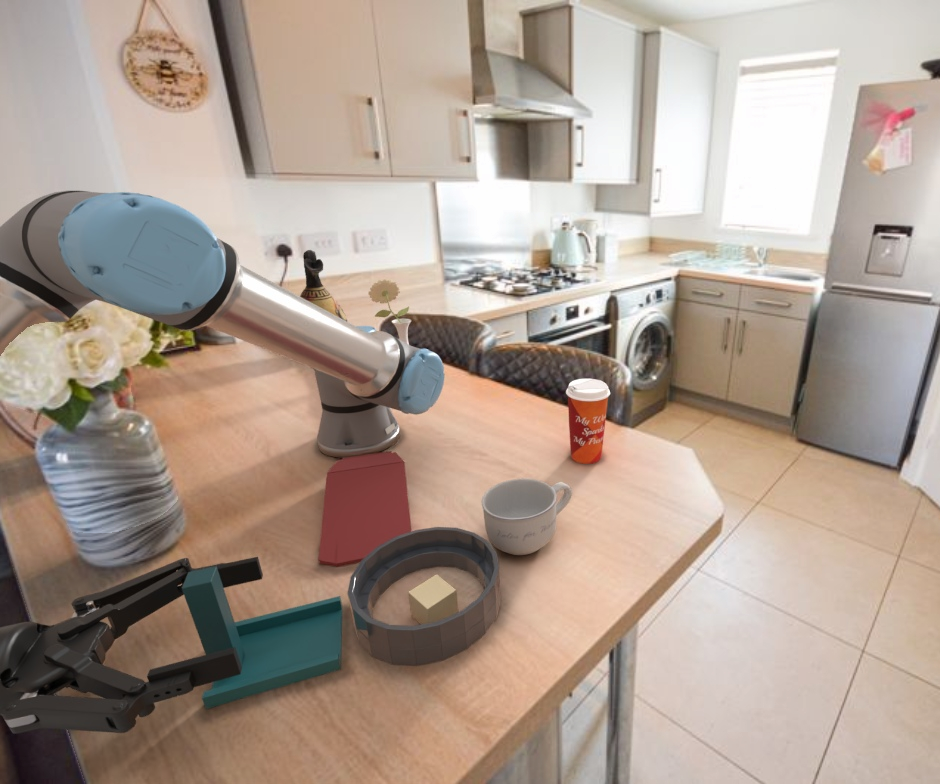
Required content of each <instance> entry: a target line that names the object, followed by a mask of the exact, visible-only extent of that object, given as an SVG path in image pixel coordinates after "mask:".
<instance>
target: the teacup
mask: <svg viewBox="0 0 940 784" xmlns="http://www.w3.org/2000/svg"><path fill="white" fill-rule="evenodd" d="M561 491H563V494H562V497H560V500H559V501H558V502H557V500H558V493H559V492H561ZM572 493H573V492H572V489H571V487H570V485H569V484H567V483H566V482H563V481H558V482H556V483H555V484H553V485H550V484H549V483H547V482H545V481H542V480H539V479H535V478H515V479H514V478H513V479H509V480H505V481H502V482H501V481H500V482H499V483H497V484H494V485H493V486H491V487H490V488H489V489H487V490H486V491H485V492H484V494H483V496H482V498H481V507H482V511H483V520H484V527H485V532H486V533H485V534H486V536H487V539H488V540H489V543H490V544H492V546H493V547H495V548H496V549H497V550H499V551H501V552H504V553H507V554H509V555H514V556H526V555H529V554H533V553H535V552H538V551H539V550H540V549H542V548H543V547H545V546H546V545H547V544H548V543H550V541H551V540H552V539H553V537H554V535H555V534H556V529H557V522H558V521H557V520H558V519H557V516H558V515H559V514H560V513H561V512H562V511H563V510H564V509H565V508H566V506H567V505H568V504H569V503H570V501H571V499H572Z"/></svg>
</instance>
